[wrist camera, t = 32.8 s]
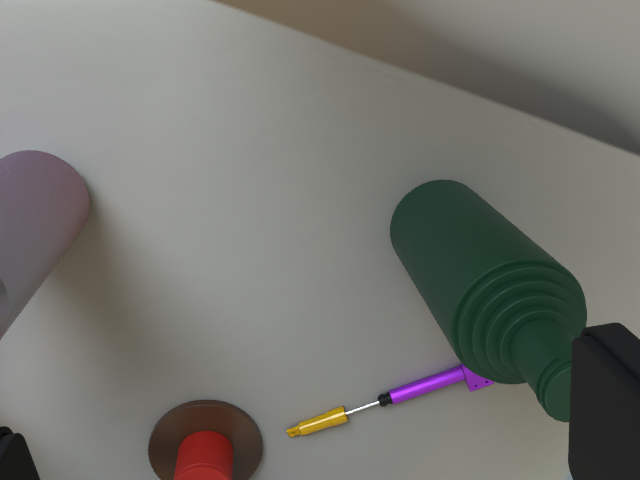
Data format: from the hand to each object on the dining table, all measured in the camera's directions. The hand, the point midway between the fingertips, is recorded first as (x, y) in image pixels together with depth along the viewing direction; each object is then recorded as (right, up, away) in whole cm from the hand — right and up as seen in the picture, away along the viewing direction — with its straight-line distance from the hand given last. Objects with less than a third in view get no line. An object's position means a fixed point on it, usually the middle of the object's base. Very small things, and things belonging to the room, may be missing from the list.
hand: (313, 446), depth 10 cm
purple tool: (+5, -8, +35) cm, 36 cm away
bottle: (+8, +4, +30) cm, 31 cm away
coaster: (-8, -11, +34) cm, 37 cm away
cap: (-8, -12, +33) cm, 36 cm away
